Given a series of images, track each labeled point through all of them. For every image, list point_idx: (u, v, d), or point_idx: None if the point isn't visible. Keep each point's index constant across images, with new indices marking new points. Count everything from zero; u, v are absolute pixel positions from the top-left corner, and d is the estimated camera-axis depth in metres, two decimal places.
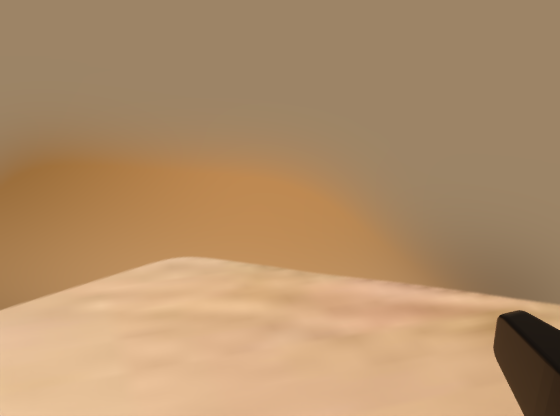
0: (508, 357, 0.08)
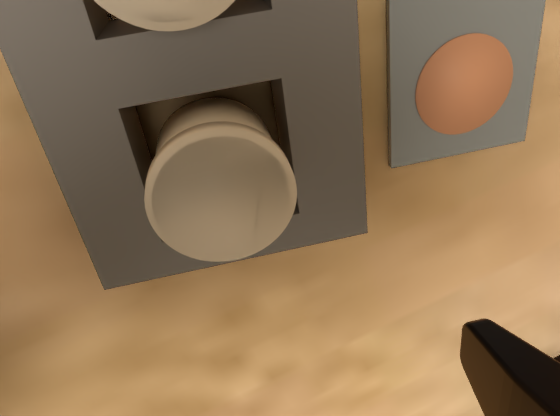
0: (473, 365, 0.08)
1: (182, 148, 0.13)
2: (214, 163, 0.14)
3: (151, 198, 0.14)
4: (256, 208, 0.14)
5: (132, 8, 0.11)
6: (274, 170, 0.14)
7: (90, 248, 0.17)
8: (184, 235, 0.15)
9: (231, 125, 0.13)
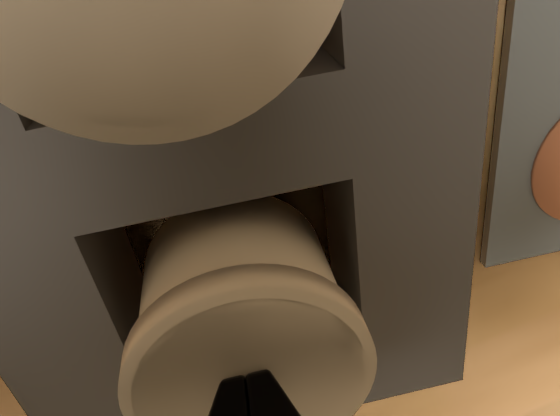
0: None
1: (184, 321, 0.07)
2: (240, 338, 0.08)
3: (131, 390, 0.08)
4: (307, 393, 0.09)
5: (70, 102, 0.05)
6: (342, 341, 0.08)
7: None
8: None
9: (270, 274, 0.07)
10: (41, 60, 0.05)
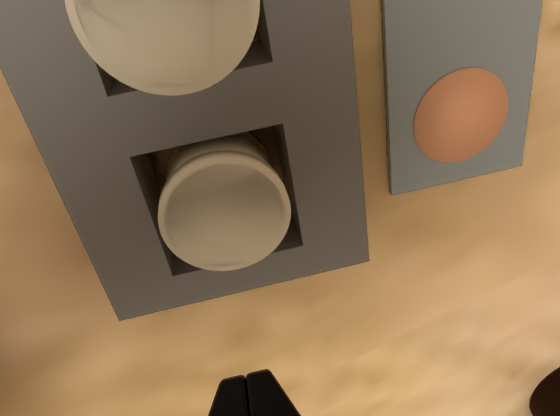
0: None
1: (190, 175, 0.15)
2: (217, 187, 0.16)
3: (164, 217, 0.16)
4: (255, 223, 0.17)
5: (142, 77, 0.12)
6: (270, 191, 0.16)
7: (105, 283, 0.18)
8: (193, 249, 0.17)
9: (231, 154, 0.15)
10: (131, 59, 0.12)
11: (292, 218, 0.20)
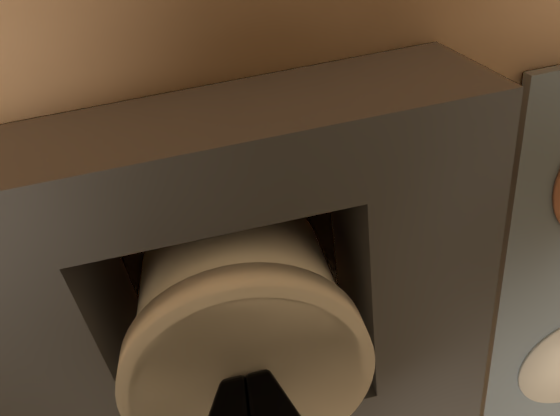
0: None
1: None
2: None
3: None
4: None
5: None
6: None
7: None
8: None
9: None
10: None
11: None
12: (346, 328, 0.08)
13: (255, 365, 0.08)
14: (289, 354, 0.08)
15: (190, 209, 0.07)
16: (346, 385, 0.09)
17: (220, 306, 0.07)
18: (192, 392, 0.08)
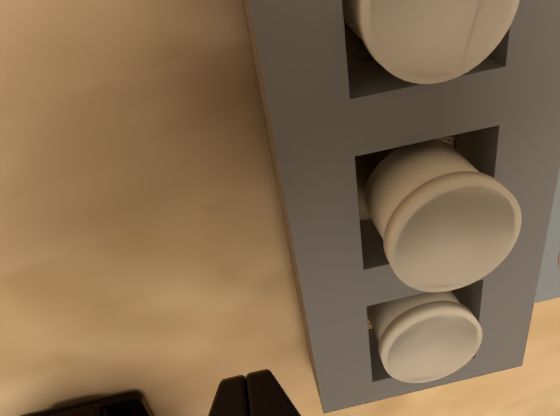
0: None
1: (416, 323, 0.20)
2: (433, 329, 0.20)
3: (387, 349, 0.20)
4: (452, 351, 0.21)
5: (424, 282, 0.16)
6: (470, 330, 0.20)
7: (322, 389, 0.22)
8: (402, 369, 0.21)
9: (446, 305, 0.20)
10: (421, 273, 0.16)
11: None
12: None
13: None
14: None
15: None
16: (500, 12, 0.13)
17: None
18: (408, 1, 0.13)
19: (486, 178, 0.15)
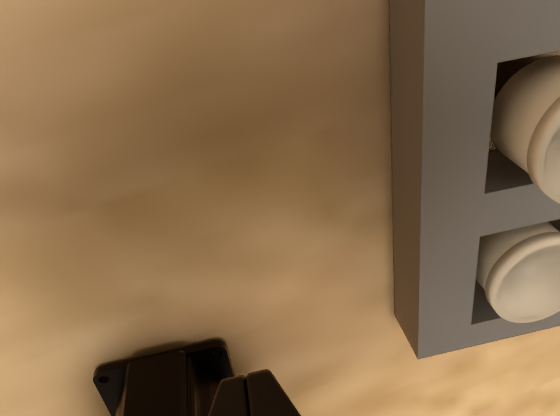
0: None
1: (532, 253, 0.19)
2: (547, 261, 0.20)
3: (497, 283, 0.20)
4: None
5: None
6: None
7: (421, 330, 0.22)
8: (509, 306, 0.21)
9: None
10: None
11: None
12: None
13: None
14: None
15: None
16: None
17: None
18: None
19: None
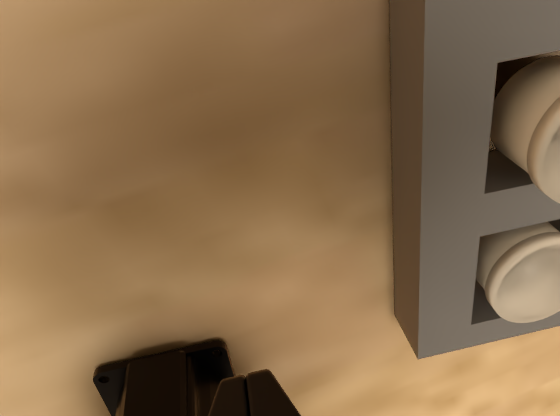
0: None
1: (532, 253, 0.19)
2: (547, 261, 0.20)
3: (497, 283, 0.20)
4: None
5: None
6: None
7: (421, 330, 0.22)
8: (509, 306, 0.21)
9: None
10: None
11: None
12: None
13: None
14: None
15: None
16: None
17: None
18: None
19: None
